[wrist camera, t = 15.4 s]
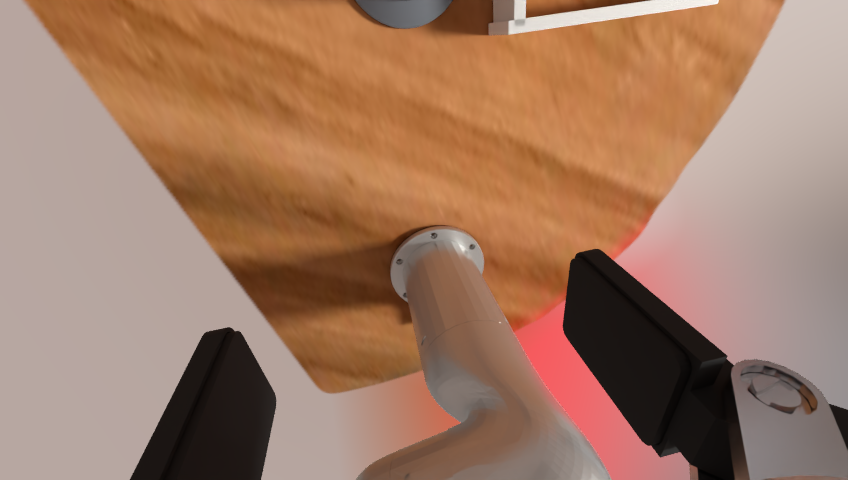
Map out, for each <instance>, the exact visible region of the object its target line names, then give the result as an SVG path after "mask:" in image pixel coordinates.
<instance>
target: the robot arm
mask: <svg viewBox="0 0 848 480" xmlns="http://www.w3.org/2000/svg"><path fill="white" fill-rule="evenodd" d="M432 233H434V234H432ZM483 269H484V258H483V253H482V251H481V248H480V246H479V245H478V243H477V242H476V240H475V239H474V238H473V237H472V236H471V235H469V234H468V233H466V232H465V231H463V230H461V229H458V228H455V227H450V226H435V227H429V228H426V229H423V230H420V231H418V232H416V233H415V234H413V235H411V236H410V237H408V238H407V239H406V240H405V241H404V242H403V243H402V244H401V245H400V246H399V247H398V249H397V250H396V252H395V253H394V255H393V258H392V261H391V266H390V276H391V281H392V285H393V287H394V289H395V291H396V292H397V294H398V295H399V296H400V297H401V298H402V299H403V300H405V301H406V302H408V304H409V309H410V313H411V318H412V322H413V327H414V332H415V336H416V341H417V345H418V350H419V354H420V359H421V364H422V368H423V372H424V377H425V381H426V384H427V387H428V389H429V391H430V393H431V395H432V396H433V398H434V399H435V400H436V402H437V403H438V404H439V405H440V406H441V407H442V408H443V409H444V410H445V411H446V412H447V413H448V414H450V415H451V416H452V417H454V418H455V419H457V420H458V421H459V422H461V424H458V425H456V426H454V427H452V428H450V429H448V430H447V431H444V432H442V433H440V434H437V435H435V436H432V437H430V438H428V439H425V440H422V441H420V442H418V443H415V444H413V445H410V446H408V447H405V448H403V449H400V450H398V451H396V452H394V453H392V454H389V455H387V456H385V457H383V458H381V459H379V460H377V461H375V462H374V463H372V464H371V465H369V466H368V467H367V468H365V470H364V471H363V472H362V473H361V474H360V475H359V476H358V477H357V479H356V480H611V477H610V475H609V473H608V471H607V469H606V468H605V466H604V464H603V462H602V460H601V459H600V457H599V455H598V453H597V452H596V451H595V449H594V448H593V447H592V445H591V443H590V442H589V441H588V440H587V438H586V436H585V435H584V434H583V432H582V431H581V430H580V429H579V427H578V426H577V425H576V424H575V422H574V421H573V420H572V419H571V417H570V416H569V415H568V414H567V412H566V411H565V410H564V409H563V407H562V406H561V405H560V404H559V402H558V401H557V400H556V399H555V397H554V396H553V395H552V393H551V392H550V390H549V389H548V387H547V386H546V385H545V383H544V382H543V380H542V379H541V377H540V376H539V374H538V373H537V371H536V370H535V368H534V367H533V365H532V363H531V362H530V360H529V358H528V357H527V355H526V353H525V351H524V350H523V348H522V346H521V344H520V343H519V341H518V339H517V337H516V335H515V334H514V332H513V330H512V328H511V326H510V325H509V323H508V321H507V319H506V317H505V316H504V314H503V312H502V310H501V309H500V307H499V305H498V303H497V302H496V300H495V298H494V296H493V294H492V293H491V291H490V289H489V287H488V285H487V284H486V282H485V280H484V278H483V277H482V272H483ZM563 330H564V333H565V335H566V337H567V339H568V340H569V341H570V343H571V344H572V346H573V347H574V348H575V350H576V351H577V353H578V354H579V355H580V357H581V358H582V360H583V361H584V362H585V364H586V365H587V366H588V368H589V369H590V371H591V372H592V373H593V375H594V376H595V377H596V379H597V380H598V381H599V383H600V384H601V386H602V387H603V388H604V390H605V391H606V393H607V394H608V395H609V396H610V398H611V399H612V401H613V402H614V403H615V405H616V406H617V408H618V409H619V410H620V412H621V413H622V415H623V416H624V417H625V419H626V420H627V421H628V423H629V424H630V425H631V427H632V428H633V430H634V431H635V432H636V434H637V435H638V436H639V438H640V439H641V440H642V442H644V443H645V444H646V445H648V446H650V445H651V446H652V447H653V449H654V450H655V451H656V453H657V454H658V455H659V456H660V457H663V456H667V455H671V454H674V453H678V452H681V453H682V455H683V456H684V457H685V458H686V460H687V461H688V462H689V465H690V480H848V410H846V409H844V408H840V407H837V406H834V405H831V404H828V402H827V400H826V399H825V397H824V396H823V394H822V392H821V391H820V390H819V389H817V387H816V386H815V385H813V384H812V383H811V382H810V381H809V380H807V379H806V378H804V377H803V376H801V375H799V374H798V373H796V372H794V371H792V370H790V369H788V368H786V367H784V366H781V365H778V364H775V363H772V362H769V361H762V360H757V359H756V360H755V359H754V360H744V361H741V362H738V363H736V364H735V365H733V364H732V363H730V362H729V361H728V360H727V359H726V358H727V355H726V354H724V353H723V352H722V351H721V350H720V349H719V348H717V347H716V346H715V345H714V344H713V343H711V342H710V341H709V340H708V339H706V338H705V337H704V336H703V335H702V334H701V333H699V332H698V331H697V330H696V329H695V328H693V327H692V326H691V325H690V324H689V323H687V322H686V321H685V320H684V319H683V318H681V317H680V316H679V315H678V314H677V313H675V312H674V311H673V310H672V309H671V308H670V307H668V306H667V305H666V304H665V303H664V302H662V301H661V300H660V299H659V298H658V297H656V296H655V295H654V294H653V293H651V292H650V291H649V290H648V289H647V288H645V287H644V286H643V285H642V284H641V283H640V282H638V281H637V280H636V279H635V278H634V277H632V276H631V275H630V274H629V273H628V272H626V271H625V270H624V269H623V268H622V267H621V266H619V265H618V264H617V263H616V262H615V261H613V260H612V259H611V258H610V257H609V256H607V255H606V254H605V253H604V252H603V251H601V250H599V249H593V250H589V251H584V252H579V253H577V254H576V256H575V259H572V260H571V263H570V270H569V278H568V286H567V295H566V304H565V311H564V320H563ZM275 409H276V396H275V393H274V391H273V389H272V387H271V385H270V384H269V382H268V380H267V378H266V377H265V375H264V373H263V371H262V369H261V367H260V366H259V364H258V362H257V360H256V358H255V357H254V355H253V353H252V351H251V349H250V348H249V346H248V344H247V342H246V340H245V339H244V337H243V335H242V334H241V332H239V331H234V330H233V329H232V328H230V327H228V328H223V329H218V330H214V331H209V332H206V333H204V335H203V336H202V338H201V340H200V342H199V344H198V346H197V348H196V350H195V352H194V354H193V356H192V358H191V360H190V362H189V364H188V366H187V368H186V370H185V372H184V374H183V375H182V377H181V379H180V381H179V383H178V386H177V387H176V389H175V392H174V393H173V395H172V398H171V399H170V402H169V403H168V405H167V407H166V409H165V411H164V413H163V415H162V417H161V419H160V421H159V423H158V425H157V427H156V429H155V431H154V433H153V435H152V437H151V439H150V441H149V443H148V445H147V447H146V449H145V451H144V453H143V455H142V457H141V459H140V461H139V463H138V465H137V467H136V469H135V471H134V473H133V475H132V477H131V479H130V480H261V476H262V472H263V466H264V462H265V457H266V453H267V447H268V443H269V438H270V433H271V428H272V423H273V418H274V414H275Z"/></svg>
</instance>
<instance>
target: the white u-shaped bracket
mask: <svg viewBox="0 0 848 480" xmlns="http://www.w3.org/2000/svg"><path fill="white" fill-rule="evenodd" d="M718 1H719V0H649V1H642V2H635V3H628V4H621V5H614V6H607V7H600V8H593V9H586V10H579V11H572V12H565V13H558V14H551V15H544V16H537V17H530V18H526V0H493V23H488V25H489V35H509V34H516V33H523V32H530V31H536V30H543V29H550V28H557V27H564V26H570V25H577V24H584V23H591V22H598V21H604V20H611V19H618V18H625V17H632V16H638V15H645V14H652V13H659V12H666V11H672V10H679V9H686V8H693V7H700V6H706V5H713V4H718Z"/></svg>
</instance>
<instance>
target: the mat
mask: <svg viewBox="0 0 848 480" xmlns="http://www.w3.org/2000/svg"><path fill="white" fill-rule="evenodd" d="M355 1H356V2H357V3H358V4H359V6H360V7H361V8H362V9H363V10H364V11H365V12H366V13H367V14H369V15H370V16H371V17H372V18H374V19H375V20H377V21H379V22H380V23H383V24H385V25H387V26H391V27H395V28H402V29H406V28H415V27H419V26H422V25H425V24H427V23H429V22H431V21H433V20H434V19H436V18H437V17H438V16H440V15H441V14H442V13H443V12H444V11H445V10H446V9H447V7H448V6H449V5H450V3H451V2H452V1H453V0H410V1H400V0H355Z"/></svg>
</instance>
